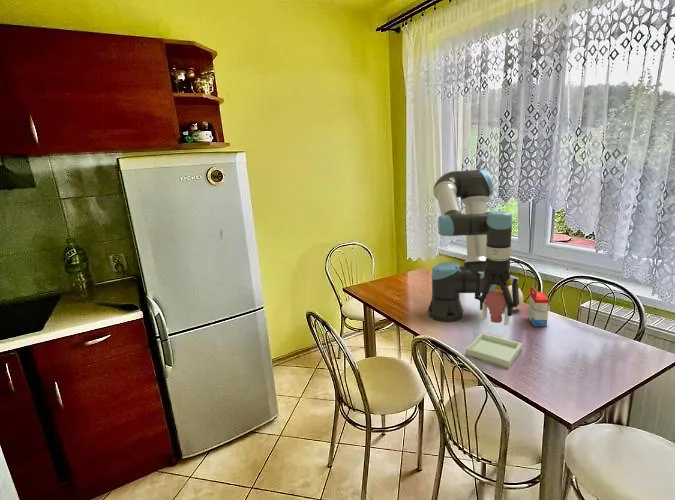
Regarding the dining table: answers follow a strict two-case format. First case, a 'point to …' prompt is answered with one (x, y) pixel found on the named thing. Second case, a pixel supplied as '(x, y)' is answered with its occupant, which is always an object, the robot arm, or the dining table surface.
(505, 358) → the tray
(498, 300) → the light bulb
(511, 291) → the egg
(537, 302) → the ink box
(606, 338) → the dining table surface
